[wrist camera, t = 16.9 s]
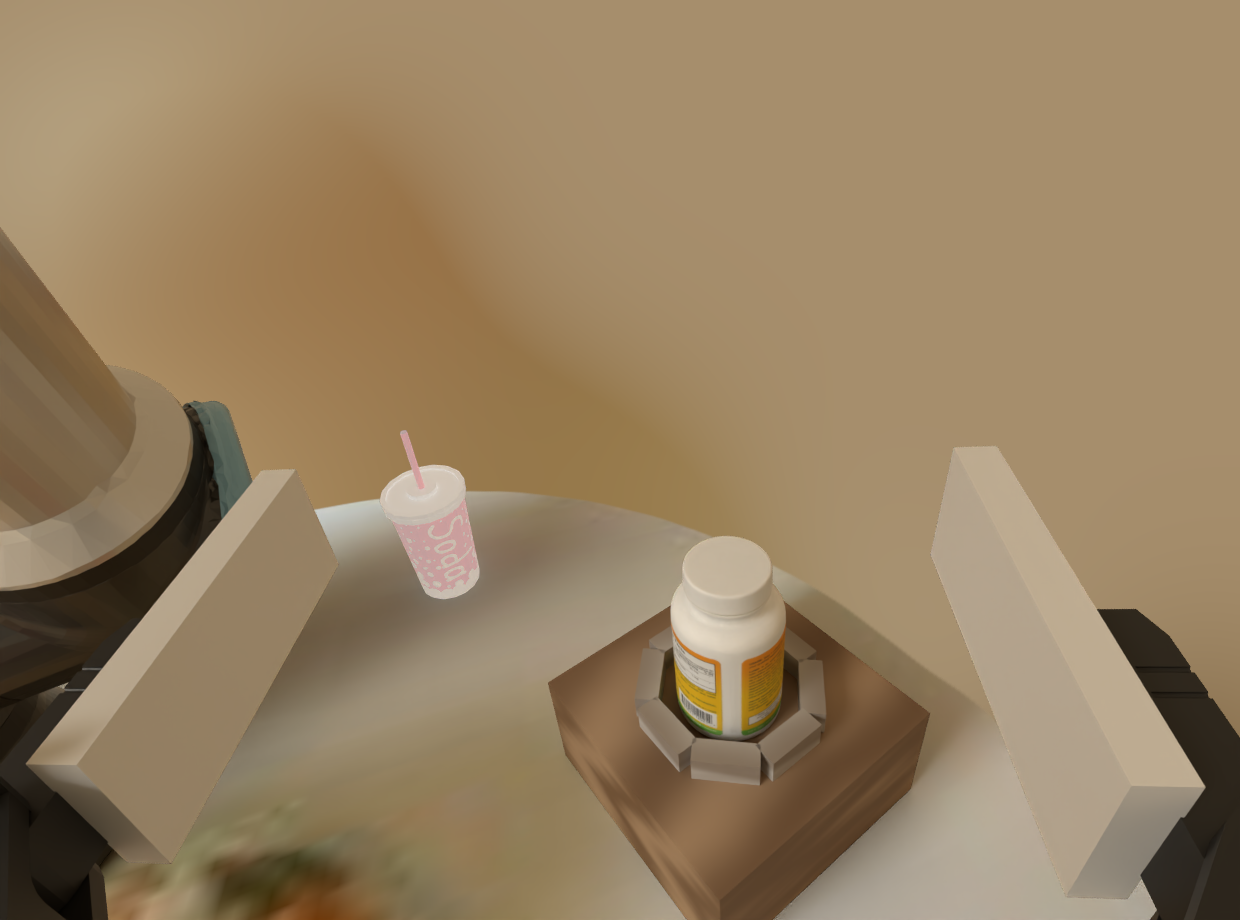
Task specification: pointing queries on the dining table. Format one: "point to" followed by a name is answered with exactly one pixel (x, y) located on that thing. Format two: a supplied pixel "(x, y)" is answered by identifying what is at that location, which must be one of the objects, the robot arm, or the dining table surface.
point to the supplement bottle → (728, 639)
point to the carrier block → (738, 768)
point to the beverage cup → (433, 525)
